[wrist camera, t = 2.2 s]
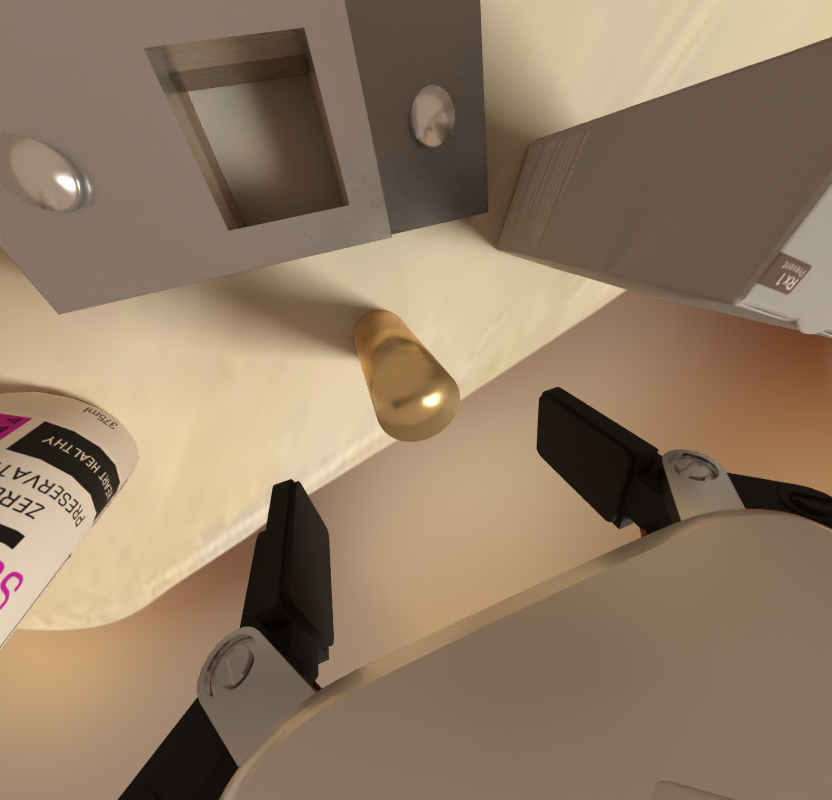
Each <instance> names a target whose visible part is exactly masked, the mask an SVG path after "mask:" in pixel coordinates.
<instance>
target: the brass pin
mask: <svg viewBox="0 0 832 800" xmlns="http://www.w3.org/2000/svg"><path fill="white" fill-rule="evenodd" d="M354 343H355V347H356V350H357V353H358V357H359V360H360V363H361V367H362V370H363V373H364V376H365V380H366V383H367V386H368V389H369V393H370V396H371V399H372V403H373V406H374V409H375V412H376V416H377V419H378V422H379V424H380V426H381V427H382V429H383V430H384V431H385V432H386V433H387V434H388V435H390V436H391V437H393V438H395V439H398V440H401V441H408V442H414V441H420V440H425V439H428V438H430V437H432V436H434V435H436V434H438V433H439V432H441V431H442V430H443V429H445V428H446V427H447V426H448V425H449V423H450V422H451V421H452V419H453V418H454V416H455V414H456V412H457V410H458V406H459V401H460V394H459V389H458V386H457V384H456V382H455V381H454V380H453V378H452V377H451V376H450V375H449V374H448V372H447V371H446V370H445V369H444V368H443V367H442V366H441V364H440V363H439V362H438V361H437V360H436V359H435V358H434V356H433V355H432V354H431V353H430V352H429V351H428V350H427V348H426V347H425V346H424V345H423V344H422V343H421V342H420V340H419V339H418V338H417V337H416V336H415V335H414V334H413V333H412V331H411V330H410V329H409V328H408V327H407V326H406V325H405V323H404V322H403V321H402V320H401V319H400V318H399V317H398V316H397V315H395V314H393V313H391V312H388V311H374V312H371V313H369V314H367V315H366V316H364V317H363V318H362V319H361V320H360V321H359V323H358V324H357V326H356V328H355V332H354Z"/></svg>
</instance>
